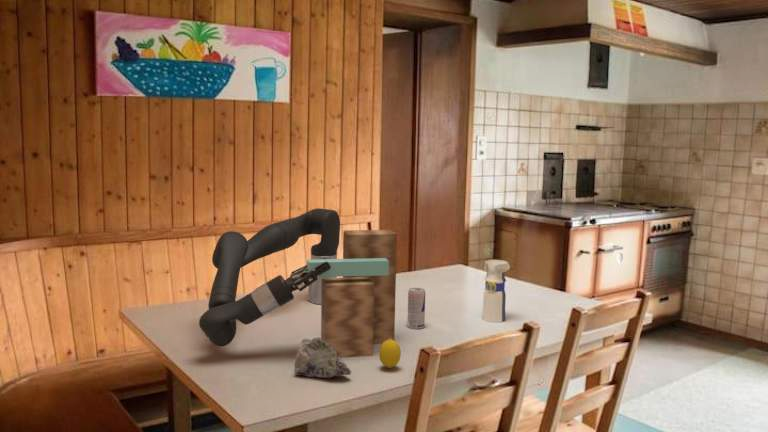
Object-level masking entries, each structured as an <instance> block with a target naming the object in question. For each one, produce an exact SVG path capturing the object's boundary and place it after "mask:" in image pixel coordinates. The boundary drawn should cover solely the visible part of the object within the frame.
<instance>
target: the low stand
mask: <svg viewBox="0 0 768 432" xmlns="http://www.w3.org/2000/svg"><path fill="white" fill-rule="evenodd" d="M320 305H321V311H320V312H321V313H320V315H321V318H320V322H321V323H320V325H321V327H320V338H321V339H322V340H323V341H325V342H326V343H328V344H329V345H331V346H332V347H333V348H334V349H335V351H336V353H337V356H338V357H339V358H351V357H365V356H367V357H368V356H370V357H371V356H373V355H374V354H373V353H374V344H373V317H374V283H373V282H372V281H371V280H370V279H369V278H368V277H343V276H340V277H337V278H322V294H321V304H320Z"/></svg>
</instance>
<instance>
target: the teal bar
mask: <svg viewBox="0 0 768 432" xmlns="http://www.w3.org/2000/svg"><path fill="white" fill-rule="evenodd" d="M324 262H328V263H329V265H330V267H331V268H330V269H329V270H327V271H326V272H324V273H322V274H321V275H319V277H337V278H341V277H343V276H380V275H389V261H388V260H387V259H386V258H366V259H343V258H337V259H314V260H311V259H306V265H307V271H310V270H312V269H314V268H316V267H317V266H319V265H321V264H323V263H324ZM310 277H311V276H310Z"/></svg>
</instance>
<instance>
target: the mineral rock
mask: <svg viewBox="0 0 768 432" xmlns="http://www.w3.org/2000/svg"><path fill="white" fill-rule="evenodd" d="M293 372H294V374H295V375H298V376H304V377H310V378H311V377H313V378H314V377H317V378H325V379H326V378H327V379H330V378H332V377H333V378H334V377H341V376H351V374H352V370H351V369H350V368H349V367H348V365H347V363H345V362H344V361H343V359H342V357H338V356H337V353H336V351H335V349H334V348H333V347H332V346H331V345H329V344H328V343H326V342H325V341H323V340H322V339H321V337H319V336H318V337H314V338H312V339H309V338H303V339H302V341H301V343H300V345H299V347H298V348H297V353H296V356H295V360H294V370H293Z"/></svg>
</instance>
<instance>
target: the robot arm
mask: <svg viewBox="0 0 768 432" xmlns="http://www.w3.org/2000/svg"><path fill="white" fill-rule="evenodd" d="M340 218H341V217H340V215H339V213H338V211H336V210H334V209H330V208H329V209H327V208H313V209H310V210H309V211H307V212H305V213H302V214H300V215H299V216H295V217H292V218H288V219H284V220H281V221H278V222H274V223H270V224H268V225H266V226H264V227H263V228H261V229H260V230H259V231H257V233H255V234H254V235H253V236H252V237H250V238H249V239H248V240H247V238H246V237H245V235H243V234H242V233H241V232H238V231H234V230H233V231H232V230H231V231H226V232H224V233H222V234H221V236H220V237H219V239H218V240H217V243H216V245H215V247H214V250H213V253H212V258H211V260H212V265H213V266H214V267H215V268H216V269H217V270H216V274H215V276H214V280H213V283H212V286H211V289H210V294H209V298H208V299H209V300H208V305H207V306H208V309H207V310H206V311H205V312H204V313H202V315H201V316H200V318H199V321H198V325H199V328H200V329H201V331H202V332H203V334H204V335H206V337H207V338H208V339H209V341H210V342H211V343H212V344H213V345H214V346H216V347H225V346H227V345H229V344H231V342H232V341H233V340H234V338H235V337H236V333H237V321H239V322H241V323H242V324H244V325H250V324H251V323H253V322H255V321H257V320H258V319H260V318H262V317H264V316H266V315H268V314H270V313H272V312H274V311H276V310H277V309H279V308H281V307H283V306H284V305H286V304H288V303H289V302H291V301H293V300H294V298H295V297H294V294H293V292H295V291H298V290H299V292H303V291H304V290H305V289H307V288H308V289H307V290H308V292H307V294H308V295H307V297H308V298H307V301H308V302H310V303H312V304H316V305H321V294H322V278H338V277H319V275H321V274H322V273H324V272H326V271H327V270H329V269H330V268H331V267H330V265H329V263H328V262H324V263H323V264H321V265H319V266H317V267H316V268H314V269H312V270H310V271H307V264H305V265H304V266H302V267H300V268H298V269H295V270H293V271H291V272H290V275H289V277H288V278H286V279H284V277H283V275H281V274H279V275H277V276H275V277H273V278H272V279H270V280H268V281H267V282H265V283H262V285H259V286H258V287H257V288H255V289H254V290H253V291H251V292H249V293H248V294H246V295H244V296H243V297H241V298H240V299H238V300H236V298H237V291H238V284H239V283H238V282H239V279H240V278H239V276H240V271H241V268H243V267H245V266H247V265H249V264H251V263H253V262H255V261H257V260H260V259H262V258H264V257H267V256H270V255H272V254H274V253H279V252H282V251H284V250H286V249H289V248H291V247H293V246H294V245H295V244H296V243H297V242H298V241H299V239H300V238H301V237H304V236H308V235H320V242H319V243H317V244H313V245H311V247H310V260H314V259H338V248H339V246H340V235H341V219H340ZM310 276H311V277H310Z"/></svg>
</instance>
